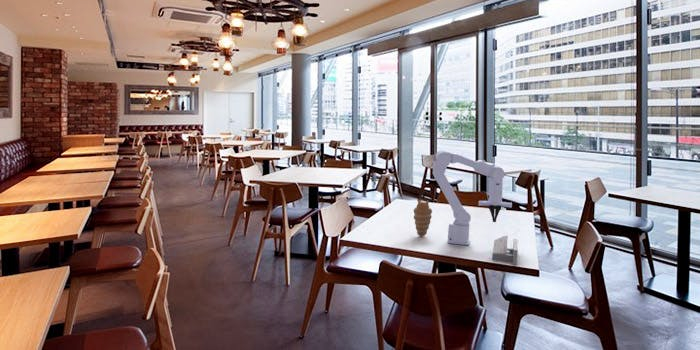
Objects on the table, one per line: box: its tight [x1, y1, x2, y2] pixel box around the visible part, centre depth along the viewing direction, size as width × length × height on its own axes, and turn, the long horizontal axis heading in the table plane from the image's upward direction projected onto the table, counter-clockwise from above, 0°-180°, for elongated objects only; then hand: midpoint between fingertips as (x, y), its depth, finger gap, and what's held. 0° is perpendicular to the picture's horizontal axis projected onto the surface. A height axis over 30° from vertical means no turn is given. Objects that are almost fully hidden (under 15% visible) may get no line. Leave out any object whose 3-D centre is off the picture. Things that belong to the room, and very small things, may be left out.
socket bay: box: [491, 238, 519, 266], centre depth 194 cm, size 10×18×6 cm, turn 161°
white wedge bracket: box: [492, 235, 510, 254], centre depth 193 cm, size 4×10×9 cm, turn 24°
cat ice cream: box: [413, 199, 433, 237], centre depth 225 cm, size 9×8×18 cm
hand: (494, 221), depth 214 cm, fingers closed
